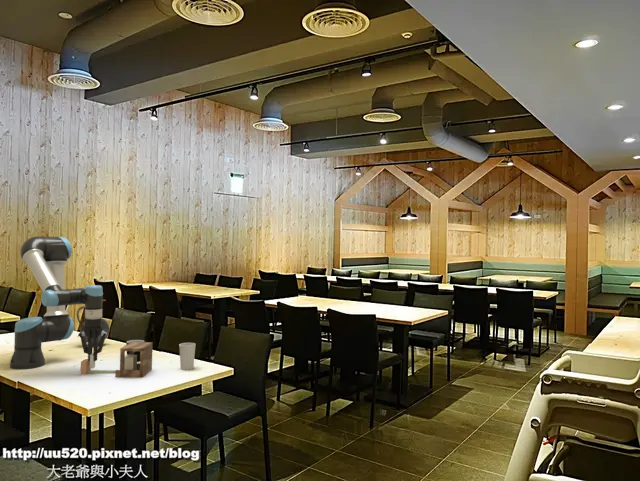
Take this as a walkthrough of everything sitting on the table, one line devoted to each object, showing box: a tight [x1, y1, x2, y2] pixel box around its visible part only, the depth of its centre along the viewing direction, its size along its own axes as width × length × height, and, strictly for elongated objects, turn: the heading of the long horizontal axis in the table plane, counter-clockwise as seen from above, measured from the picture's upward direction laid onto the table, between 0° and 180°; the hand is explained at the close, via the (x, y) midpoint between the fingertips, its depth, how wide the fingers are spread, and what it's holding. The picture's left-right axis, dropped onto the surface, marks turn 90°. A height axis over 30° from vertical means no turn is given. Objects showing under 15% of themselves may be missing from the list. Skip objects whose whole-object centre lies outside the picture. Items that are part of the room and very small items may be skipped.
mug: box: [125, 339, 145, 363], centre depth 266 cm, size 12×9×10 cm
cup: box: [178, 342, 197, 371], centre depth 251 cm, size 8×8×12 cm
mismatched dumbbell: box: [80, 354, 138, 376], centre depth 239 cm, size 24×6×8 cm, turn 94°
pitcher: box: [76, 299, 110, 348], centre depth 301 cm, size 11×19×30 cm, turn 140°
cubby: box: [114, 341, 153, 378], centre depth 240 cm, size 12×15×13 cm
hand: (92, 367), depth 239 cm, fingers closed
